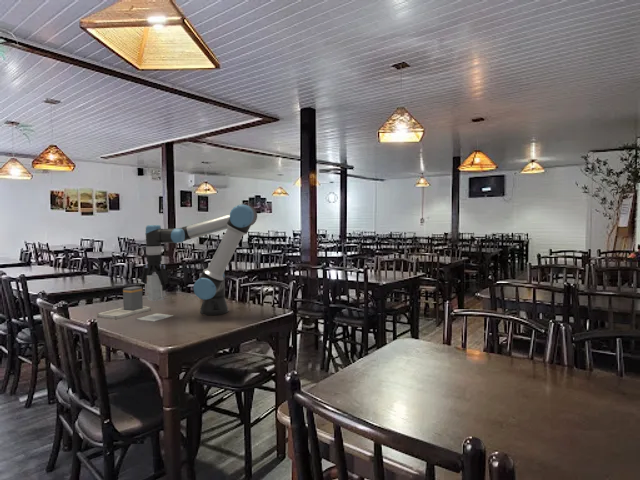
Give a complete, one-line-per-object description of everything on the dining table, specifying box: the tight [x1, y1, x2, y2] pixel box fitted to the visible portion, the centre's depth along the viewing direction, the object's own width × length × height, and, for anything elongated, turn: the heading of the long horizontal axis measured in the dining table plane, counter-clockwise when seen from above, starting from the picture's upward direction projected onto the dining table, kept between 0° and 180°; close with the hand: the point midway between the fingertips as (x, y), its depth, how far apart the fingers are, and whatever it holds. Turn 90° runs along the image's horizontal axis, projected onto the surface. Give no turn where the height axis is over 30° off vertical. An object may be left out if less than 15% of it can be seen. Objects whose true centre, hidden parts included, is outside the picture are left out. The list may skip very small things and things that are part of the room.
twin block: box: [122, 285, 144, 311], centre depth 239 cm, size 6×8×13 cm
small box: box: [146, 273, 165, 302], centre depth 223 cm, size 8×6×13 cm
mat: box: [136, 313, 174, 322], centre depth 224 cm, size 12×14×1 cm
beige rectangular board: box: [96, 305, 152, 320], centre depth 234 cm, size 14×24×2 cm, turn 157°
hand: (155, 296), depth 223 cm, fingers closed on small box, 10 cm apart
